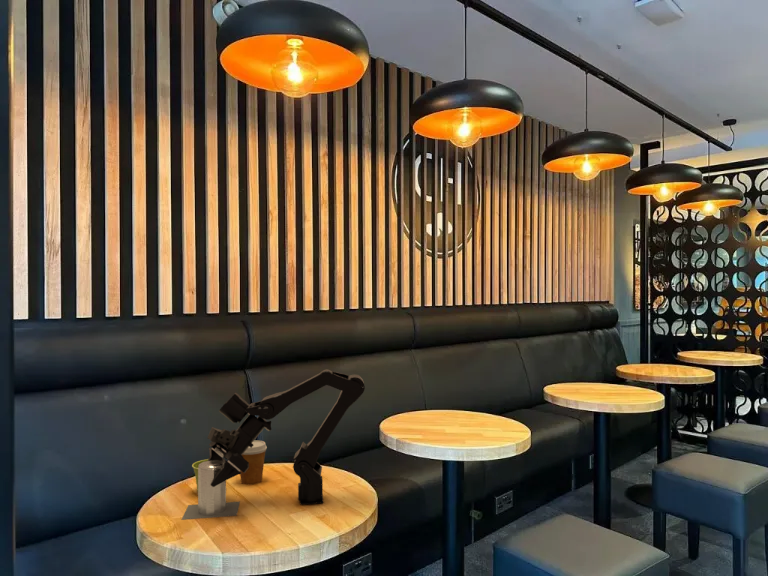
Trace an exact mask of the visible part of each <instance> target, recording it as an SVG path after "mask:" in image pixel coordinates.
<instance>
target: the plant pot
mask: <svg viewBox="0 0 768 576" xmlns="http://www.w3.org/2000/svg"><path fill="white" fill-rule="evenodd" d="M208 459H209V458H207V459H201V460H198V461H195V462H193V463H192V465H191V467H192V469H193V472H194V476H195V484H196V490H197V493H198V467H199V464H200V463H202V462H205V461H208Z"/></svg>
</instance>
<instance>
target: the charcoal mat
mask: <svg viewBox="0 0 768 576" xmlns="http://www.w3.org/2000/svg"><path fill="white" fill-rule="evenodd" d="M240 503H241V501H226V509H225V511H223V512H222V513H220V514H216V515H207V516H206V515H201V514H199V513H198V503H197V504H188V505H187V508H186V510H185V511H184V514H183V515H182V517H181V519H180V520H181V521H185V520H197V519H209V518H211V519H213V518H221V517H222V518H226V517H237V516H238V512H239V508H240Z"/></svg>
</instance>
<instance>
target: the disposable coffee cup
mask: <svg viewBox="0 0 768 576" xmlns="http://www.w3.org/2000/svg"><path fill="white" fill-rule="evenodd" d="M252 444H253V446H252V448H251V447H248V448H247V450H246V451H245V452H244V453H243V454H242V456H243V458H244V459H245V460H246V461H248V462H249V468H248V469H247V471H246V472H245V473H243V472H242V471H241V470H240V471H239V472H241V474H239V475H240V482H241V484H242V485H256V484H259V483H262V482H263V473H264V464H265V457H266V451H267V448H268V447H267V445H266V442H265V441H263V440H256V439H255V440H254V441H253V442H252Z"/></svg>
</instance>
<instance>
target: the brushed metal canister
mask: <svg viewBox="0 0 768 576" xmlns="http://www.w3.org/2000/svg"><path fill="white" fill-rule="evenodd" d="M221 467H222V461H221V460H211V461H205V462H202V463H200V464H199V467H198V492H197V498H198V499H197V502H198V503H197V504H198V513H199V514H201V515H206V516H207V515H216V514H220V513H222V512H223V511H225V509H226V502H227V480H226V481H224V482H222V483H220V484H218V485H217V486H215V487H212V486H211V482H212V481H213V479H214V478H215V476H216V475H217V473H218V472H219V470H220V469H221Z"/></svg>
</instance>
